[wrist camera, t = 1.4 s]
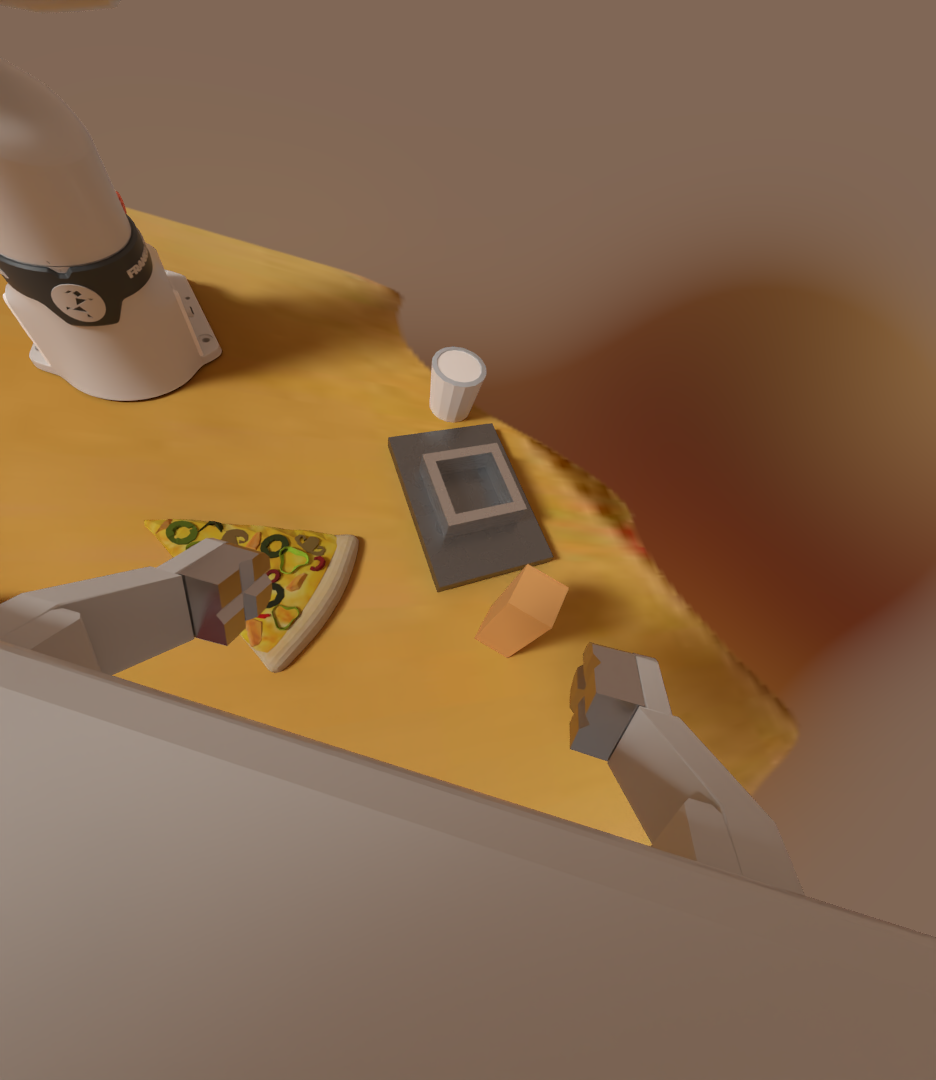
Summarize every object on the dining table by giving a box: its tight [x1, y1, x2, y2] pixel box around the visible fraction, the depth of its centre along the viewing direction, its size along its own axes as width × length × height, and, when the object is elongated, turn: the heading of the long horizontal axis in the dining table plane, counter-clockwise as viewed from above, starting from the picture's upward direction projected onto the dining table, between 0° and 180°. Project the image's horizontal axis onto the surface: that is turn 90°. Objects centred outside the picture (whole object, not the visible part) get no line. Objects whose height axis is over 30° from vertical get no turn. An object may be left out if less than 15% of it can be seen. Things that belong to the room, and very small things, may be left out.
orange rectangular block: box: [475, 564, 569, 658], centre depth 40 cm, size 4×4×12 cm
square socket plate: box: [388, 423, 553, 592], centre depth 49 cm, size 20×14×4 cm
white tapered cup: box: [430, 347, 486, 422], centre depth 55 cm, size 7×7×7 cm
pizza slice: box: [144, 519, 359, 673], centre depth 42 cm, size 16×21×3 cm
